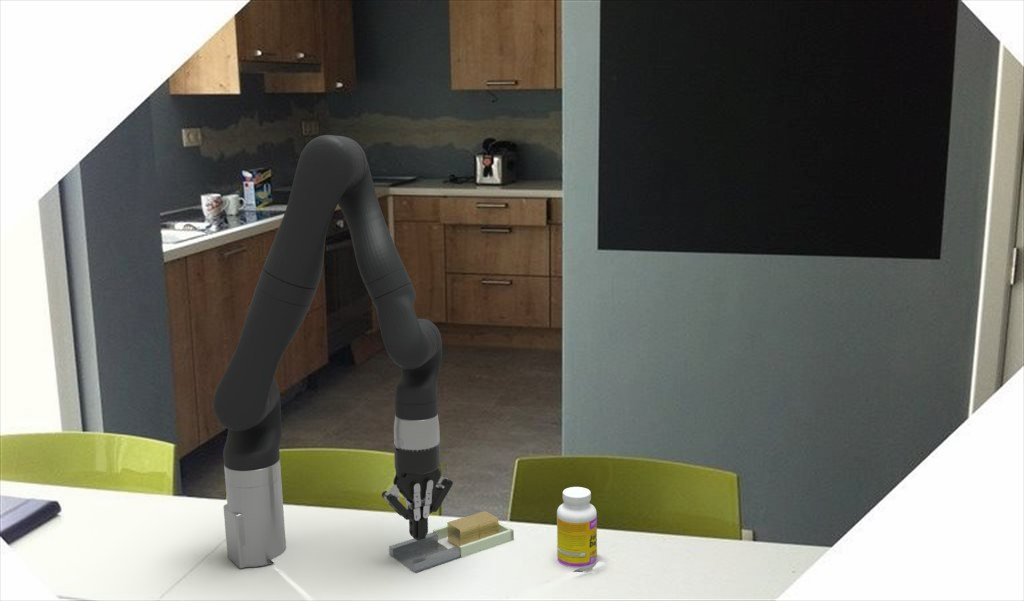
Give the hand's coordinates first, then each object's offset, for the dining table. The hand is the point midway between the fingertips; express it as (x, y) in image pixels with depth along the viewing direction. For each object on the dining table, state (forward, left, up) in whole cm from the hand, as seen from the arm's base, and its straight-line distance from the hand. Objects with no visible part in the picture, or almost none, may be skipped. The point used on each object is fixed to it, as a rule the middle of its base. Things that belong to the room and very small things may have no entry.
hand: (418, 537), depth 160 cm
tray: (+11, 0, -5) cm, 12 cm away
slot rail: (+1, 0, -5) cm, 5 cm away
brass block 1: (+9, 0, -4) cm, 10 cm away
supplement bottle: (+20, -17, -5) cm, 27 cm away
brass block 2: (+13, 0, -4) cm, 14 cm away
